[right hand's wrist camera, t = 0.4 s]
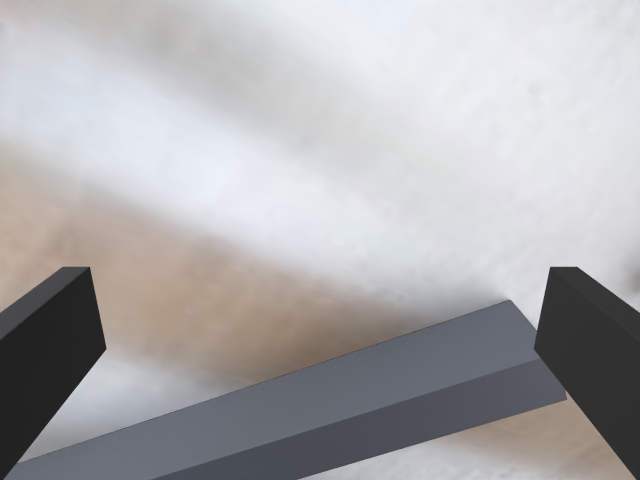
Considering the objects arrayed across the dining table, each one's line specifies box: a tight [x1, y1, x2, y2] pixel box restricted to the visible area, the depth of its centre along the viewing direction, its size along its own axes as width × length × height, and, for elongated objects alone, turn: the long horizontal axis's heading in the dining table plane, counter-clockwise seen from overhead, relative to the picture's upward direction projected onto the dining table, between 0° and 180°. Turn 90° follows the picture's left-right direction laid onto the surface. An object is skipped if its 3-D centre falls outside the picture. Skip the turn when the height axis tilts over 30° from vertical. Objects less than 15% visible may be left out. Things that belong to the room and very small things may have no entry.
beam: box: [4, 300, 567, 480], centre depth 42 cm, size 58×5×9 cm, turn 112°
